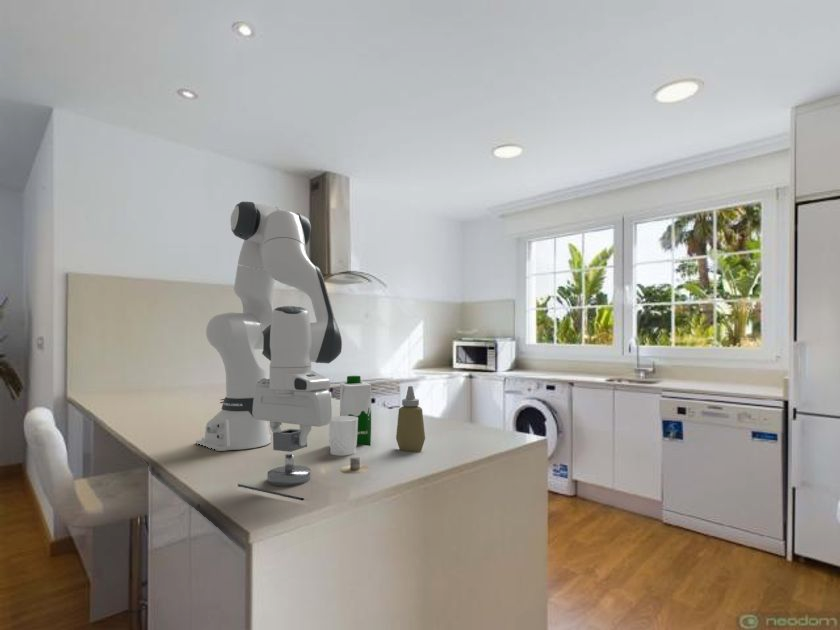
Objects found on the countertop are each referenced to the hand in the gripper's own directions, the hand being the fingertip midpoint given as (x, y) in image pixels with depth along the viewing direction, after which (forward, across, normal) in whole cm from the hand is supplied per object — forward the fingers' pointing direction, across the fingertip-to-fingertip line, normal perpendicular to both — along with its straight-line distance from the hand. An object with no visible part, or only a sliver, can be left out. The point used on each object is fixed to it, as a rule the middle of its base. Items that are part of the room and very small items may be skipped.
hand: (290, 443), depth 98 cm
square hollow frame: (+1, 0, 0) cm, 1 cm away
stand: (+9, +8, +13) cm, 17 cm away
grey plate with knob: (+9, 0, 0) cm, 9 cm away
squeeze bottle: (+9, +10, +36) cm, 38 cm away
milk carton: (+9, -8, +35) cm, 37 cm away
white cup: (+9, -4, +24) cm, 26 cm away
